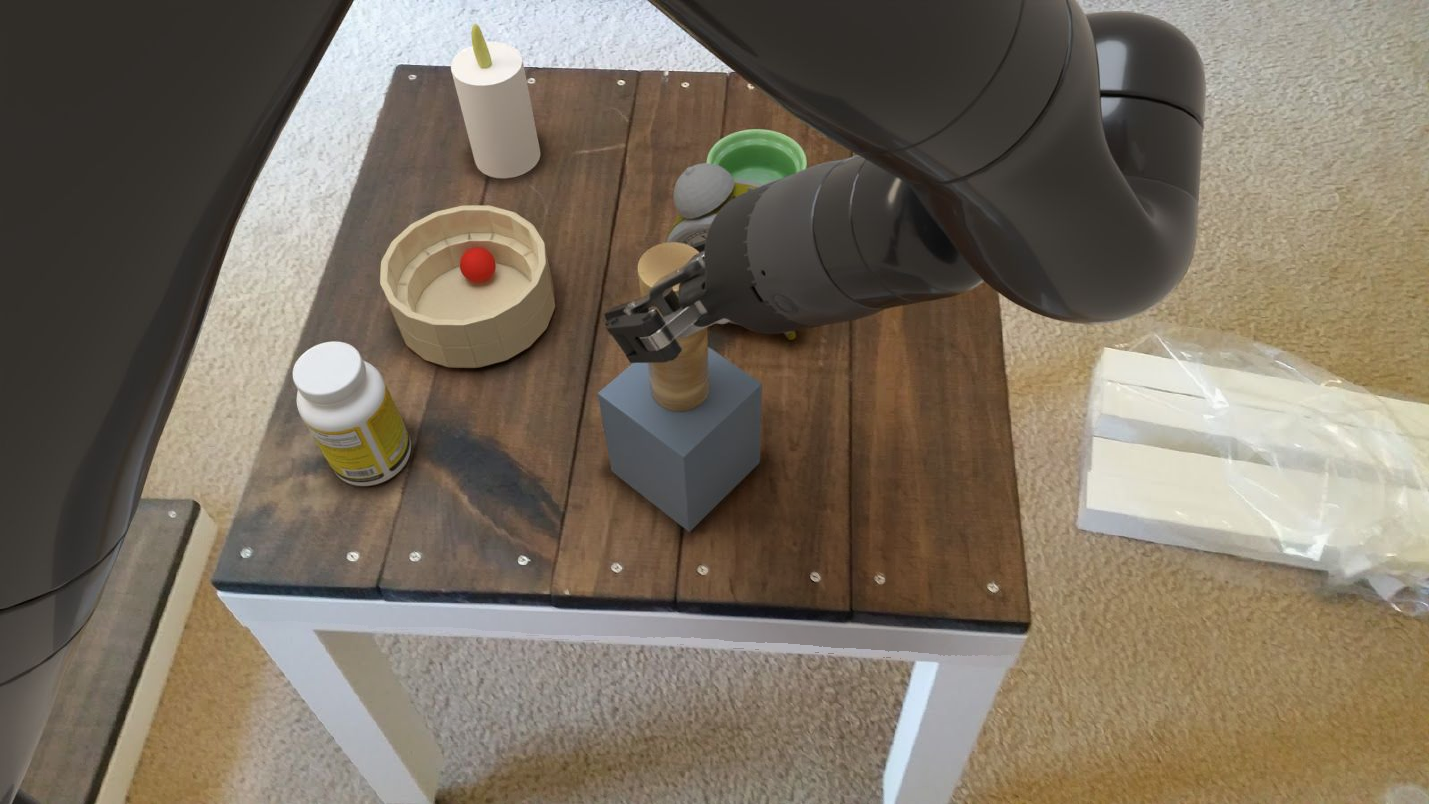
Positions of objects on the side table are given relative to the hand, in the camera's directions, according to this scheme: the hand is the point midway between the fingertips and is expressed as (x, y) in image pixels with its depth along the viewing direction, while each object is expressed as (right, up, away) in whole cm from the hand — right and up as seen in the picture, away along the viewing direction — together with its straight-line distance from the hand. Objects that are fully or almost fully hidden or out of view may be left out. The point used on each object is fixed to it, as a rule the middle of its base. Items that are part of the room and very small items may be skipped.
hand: (654, 294), depth 65 cm
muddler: (+1, -6, +6) cm, 9 cm away
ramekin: (+8, +12, +32) cm, 35 cm away
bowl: (-16, +1, +24) cm, 29 cm away
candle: (-16, +17, +36) cm, 43 cm away
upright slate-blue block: (+2, -12, +14) cm, 18 cm away
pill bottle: (-23, -11, +15) cm, 29 cm away
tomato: (-16, +5, +24) cm, 30 cm away
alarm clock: (+6, +1, +24) cm, 24 cm away
